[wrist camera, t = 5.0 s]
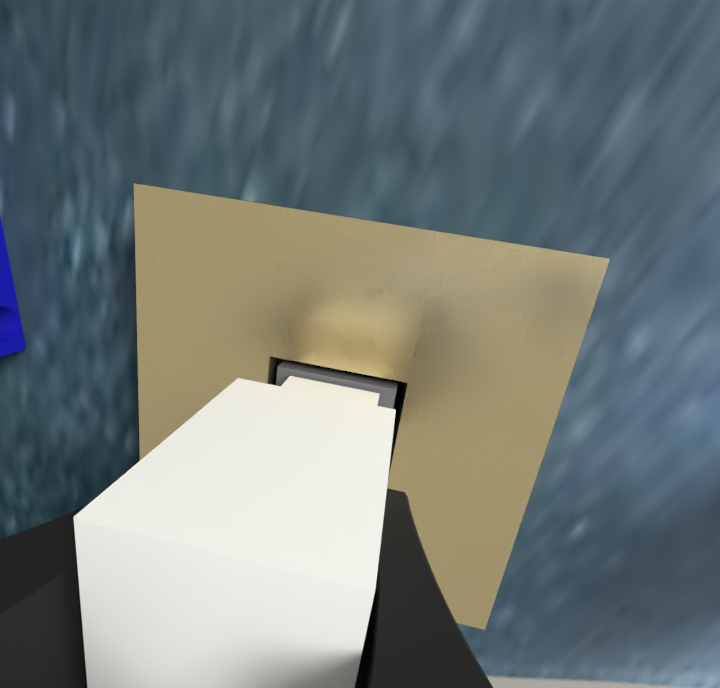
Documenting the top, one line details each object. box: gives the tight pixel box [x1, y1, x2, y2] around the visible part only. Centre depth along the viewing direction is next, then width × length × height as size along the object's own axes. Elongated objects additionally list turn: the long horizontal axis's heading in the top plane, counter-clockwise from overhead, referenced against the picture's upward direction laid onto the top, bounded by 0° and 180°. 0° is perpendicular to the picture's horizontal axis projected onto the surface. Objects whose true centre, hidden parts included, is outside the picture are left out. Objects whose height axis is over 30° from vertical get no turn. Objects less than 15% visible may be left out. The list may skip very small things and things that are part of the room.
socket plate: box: [134, 184, 610, 630], centre depth 14 cm, size 14×14×3 cm
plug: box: [73, 376, 396, 688], centre depth 10 cm, size 4×5×8 cm
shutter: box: [276, 361, 398, 409], centre depth 14 cm, size 4×4×1 cm
